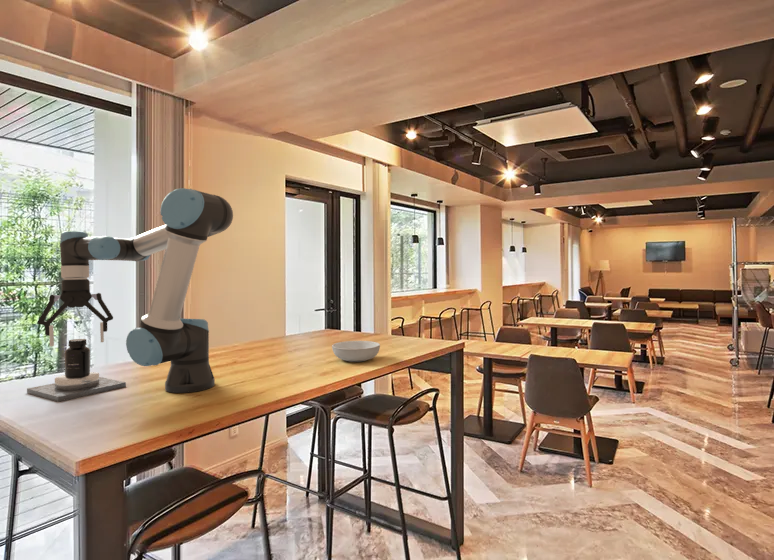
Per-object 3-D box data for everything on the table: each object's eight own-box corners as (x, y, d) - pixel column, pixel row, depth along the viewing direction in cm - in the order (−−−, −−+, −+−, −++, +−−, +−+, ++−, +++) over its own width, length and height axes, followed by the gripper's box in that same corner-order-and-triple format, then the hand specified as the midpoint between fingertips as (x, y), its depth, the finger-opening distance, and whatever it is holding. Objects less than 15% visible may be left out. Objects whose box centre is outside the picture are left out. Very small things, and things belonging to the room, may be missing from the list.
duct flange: (125, 386, 150) (125, 373, 150) (58, 401, 132) (57, 386, 132) (93, 379, 160) (93, 367, 160) (27, 393, 142) (26, 379, 142)
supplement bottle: (68, 379, 141) (67, 342, 141) (62, 376, 146) (61, 340, 146) (93, 375, 146) (92, 339, 146) (86, 372, 151) (86, 337, 151)
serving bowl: (322, 361, 191) (321, 345, 191) (352, 354, 208) (352, 339, 208) (360, 367, 179) (360, 350, 179) (389, 358, 196) (389, 343, 196)
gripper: (120, 278, 155) (122, 338, 155) (29, 280, 143) (31, 346, 143) (119, 278, 149) (121, 341, 149) (24, 279, 136) (27, 349, 136)
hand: (77, 343), depth 146 cm, fingers open, 13 cm apart
